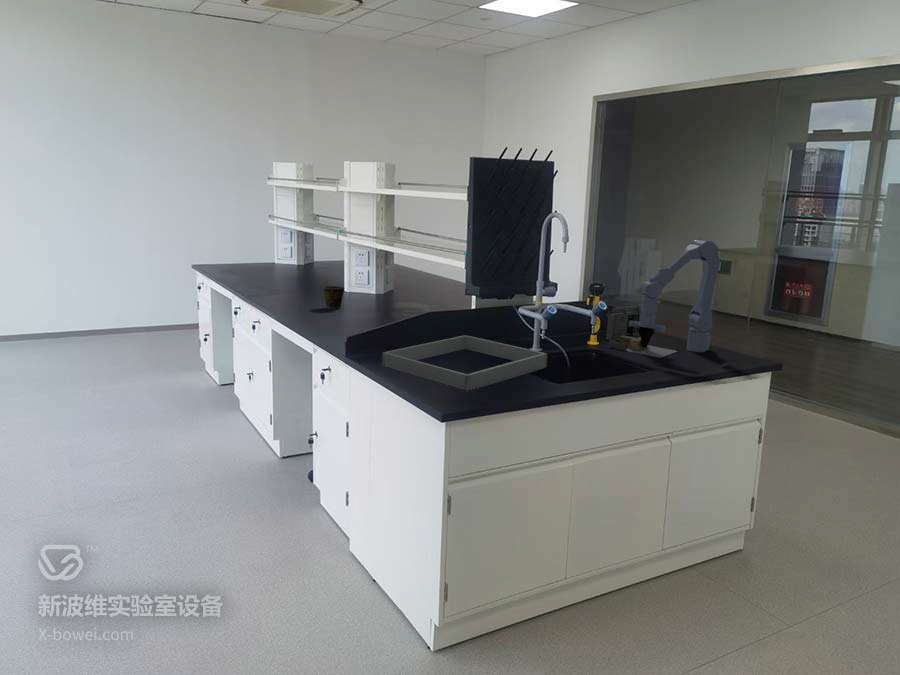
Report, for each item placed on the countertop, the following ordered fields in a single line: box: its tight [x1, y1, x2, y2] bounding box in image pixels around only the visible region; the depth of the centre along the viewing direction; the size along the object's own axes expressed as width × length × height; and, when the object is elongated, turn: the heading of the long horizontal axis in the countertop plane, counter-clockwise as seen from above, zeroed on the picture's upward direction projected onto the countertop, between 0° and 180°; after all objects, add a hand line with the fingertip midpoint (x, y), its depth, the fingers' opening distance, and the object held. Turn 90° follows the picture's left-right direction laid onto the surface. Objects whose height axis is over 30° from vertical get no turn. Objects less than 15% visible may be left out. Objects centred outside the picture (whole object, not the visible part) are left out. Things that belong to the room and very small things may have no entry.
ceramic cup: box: [322, 285, 345, 310], centre depth 336 cm, size 13×10×10 cm
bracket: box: [607, 336, 638, 351], centre depth 279 cm, size 15×7×2 cm, turn 139°
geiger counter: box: [605, 303, 642, 341], centre depth 299 cm, size 14×6×25 cm
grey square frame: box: [381, 334, 548, 392], centre depth 240 cm, size 43×37×5 cm
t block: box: [619, 336, 645, 350], centre depth 277 cm, size 9×9×4 cm
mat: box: [609, 344, 678, 358], centre depth 274 cm, size 16×22×1 cm
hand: (644, 346), depth 274 cm, fingers closed
